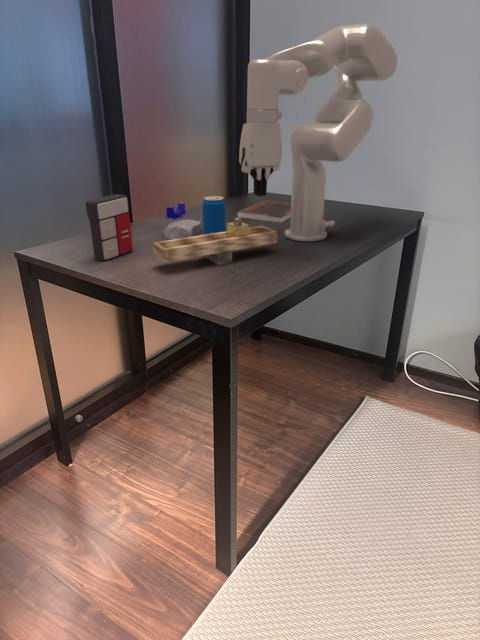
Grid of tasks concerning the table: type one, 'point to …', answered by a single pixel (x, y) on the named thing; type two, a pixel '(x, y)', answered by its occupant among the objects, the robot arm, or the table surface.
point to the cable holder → (178, 213)
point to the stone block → (182, 229)
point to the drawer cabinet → (109, 226)
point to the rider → (237, 228)
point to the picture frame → (267, 211)
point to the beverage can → (213, 214)
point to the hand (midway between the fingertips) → (259, 195)
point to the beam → (212, 245)
